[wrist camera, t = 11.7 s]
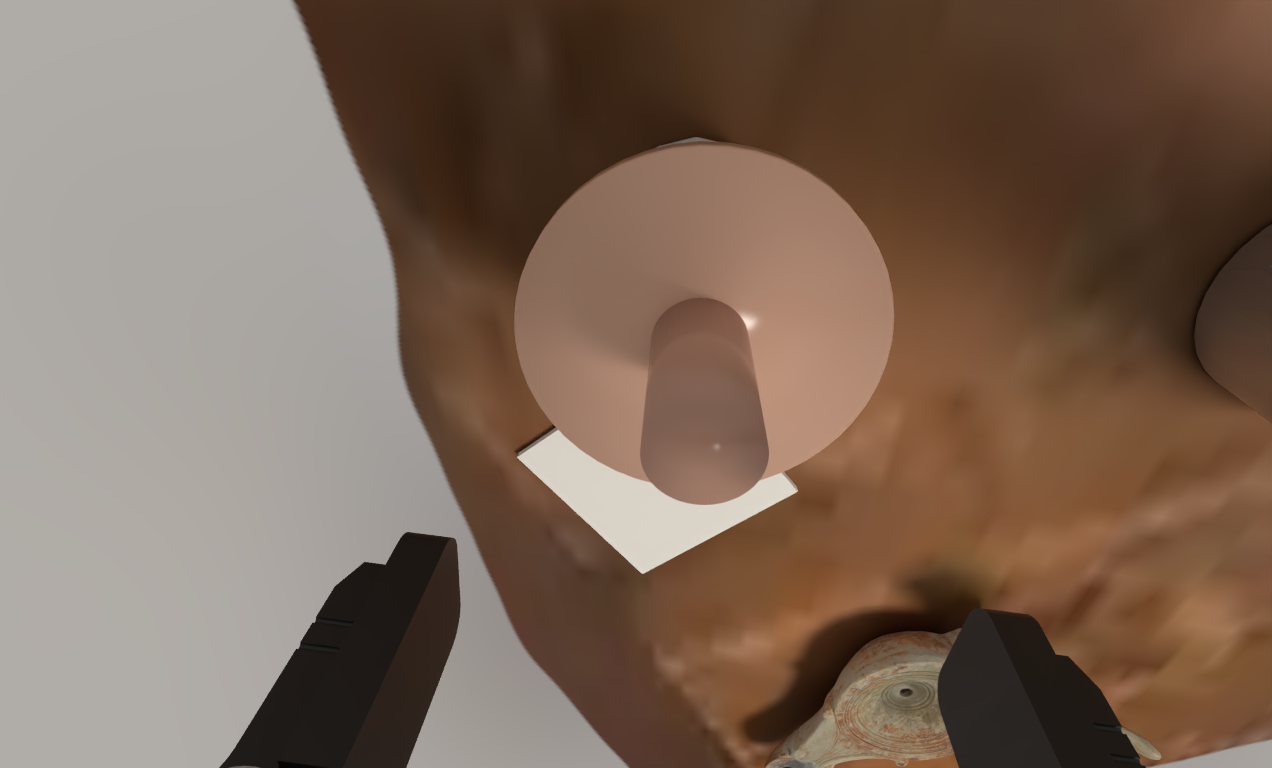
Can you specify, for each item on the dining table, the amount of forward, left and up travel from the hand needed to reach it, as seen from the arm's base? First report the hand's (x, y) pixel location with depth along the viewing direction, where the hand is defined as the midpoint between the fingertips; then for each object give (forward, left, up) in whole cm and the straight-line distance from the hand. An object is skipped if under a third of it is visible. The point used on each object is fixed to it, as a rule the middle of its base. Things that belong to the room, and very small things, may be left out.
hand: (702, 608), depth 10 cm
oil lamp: (-29, +7, -20) cm, 36 cm away
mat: (-9, +9, -19) cm, 23 cm away
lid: (0, 0, -9) cm, 9 cm away
